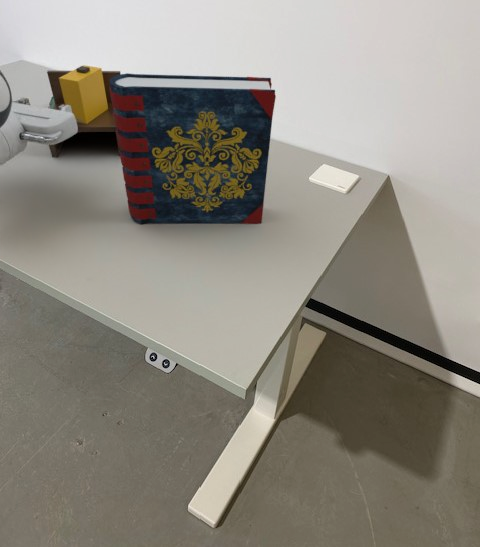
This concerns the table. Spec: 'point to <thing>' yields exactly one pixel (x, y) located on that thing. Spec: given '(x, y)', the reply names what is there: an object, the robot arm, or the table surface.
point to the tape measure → (84, 93)
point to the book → (193, 146)
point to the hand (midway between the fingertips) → (47, 104)
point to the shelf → (99, 124)
